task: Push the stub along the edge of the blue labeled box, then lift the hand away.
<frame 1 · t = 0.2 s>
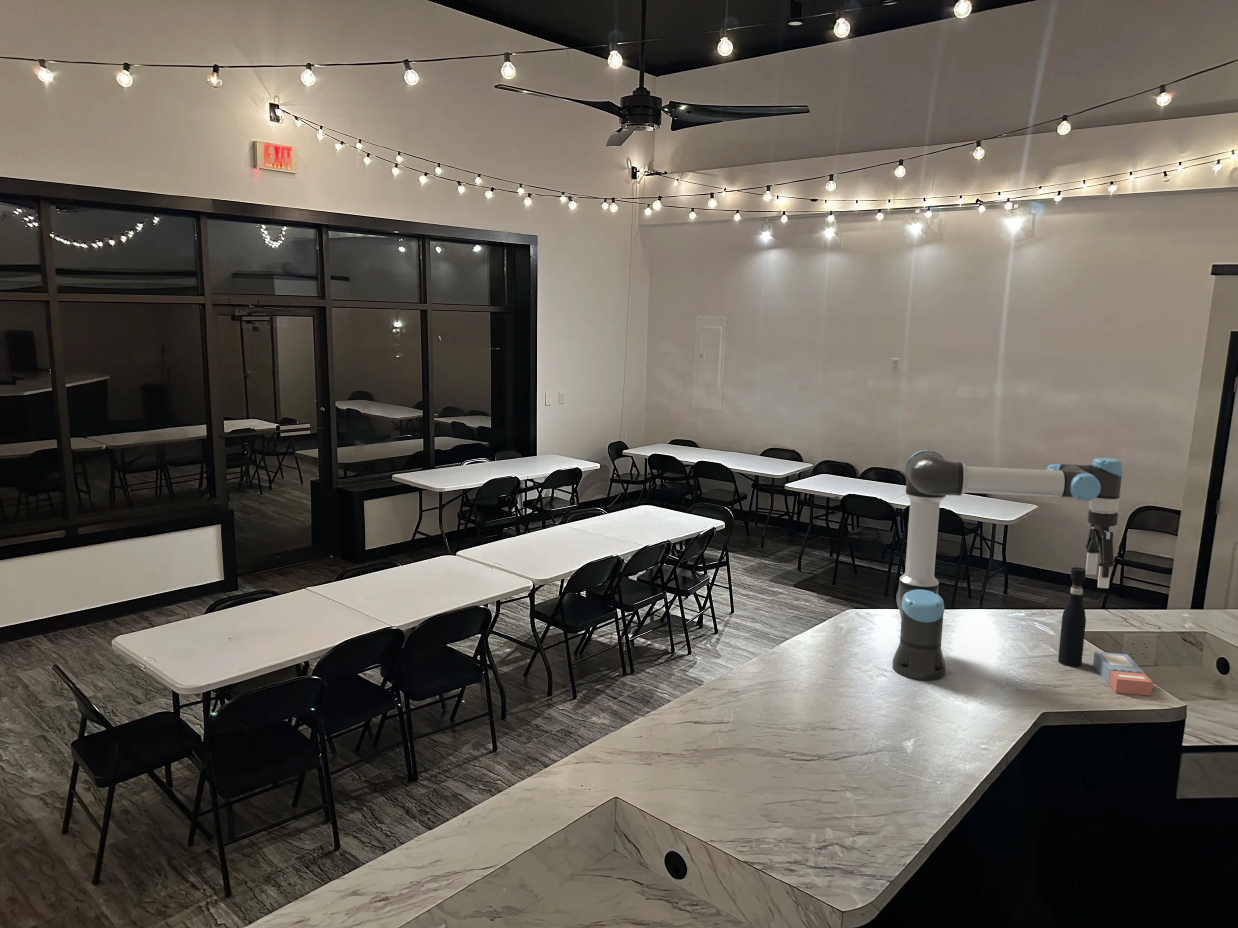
hand: (1096, 580, 245), 28 cm above the counter, fingers open, 13 cm apart
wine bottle: (1069, 663, 254), on the counter
blue labeled box: (1117, 675, 245), on the counter
stub: (1130, 682, 235), point 2 cm above the counter, slide at 0.0 cm
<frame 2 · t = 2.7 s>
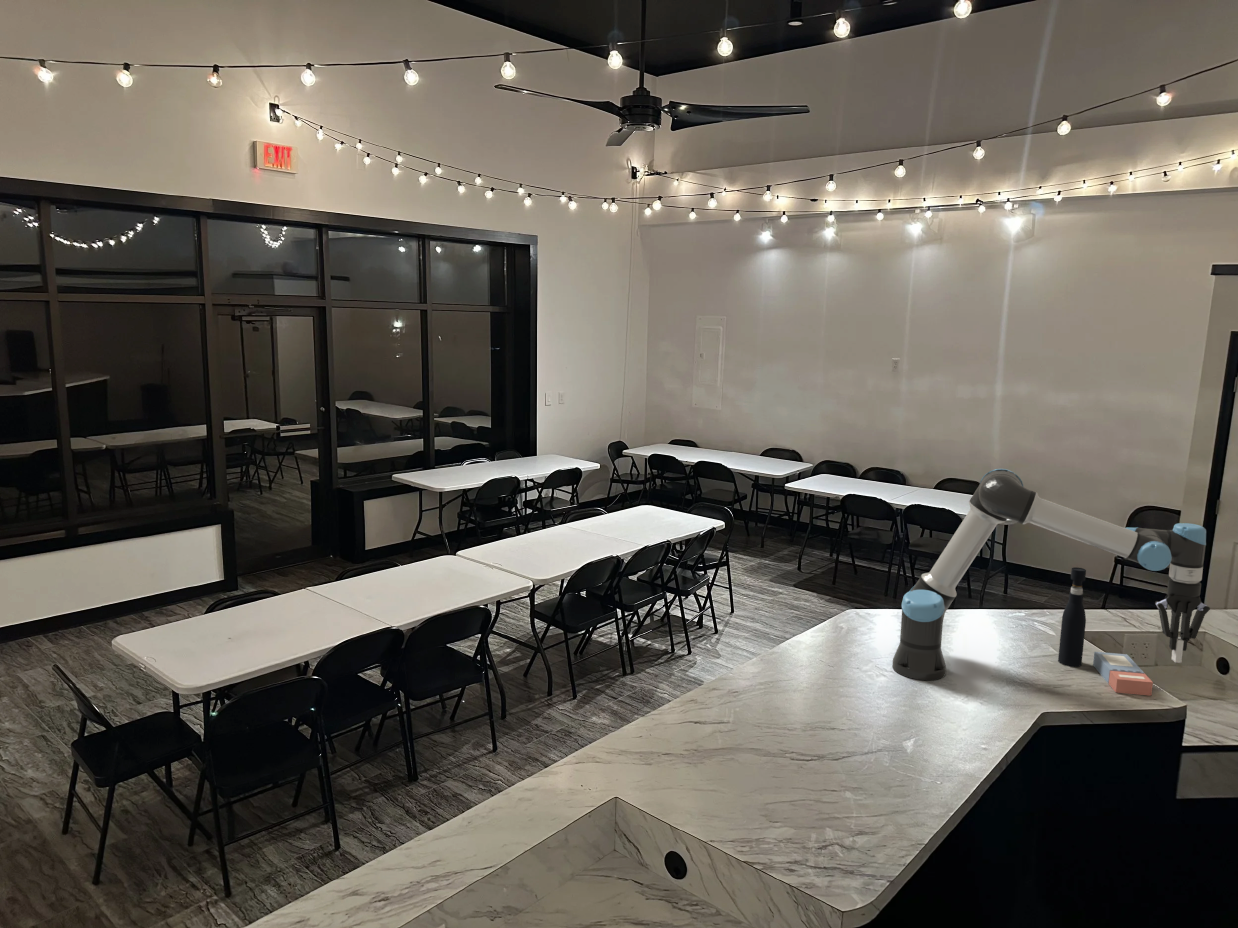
hand: (1176, 660, 231), 10 cm above the counter, fingers closed
nothing on the counter moved.
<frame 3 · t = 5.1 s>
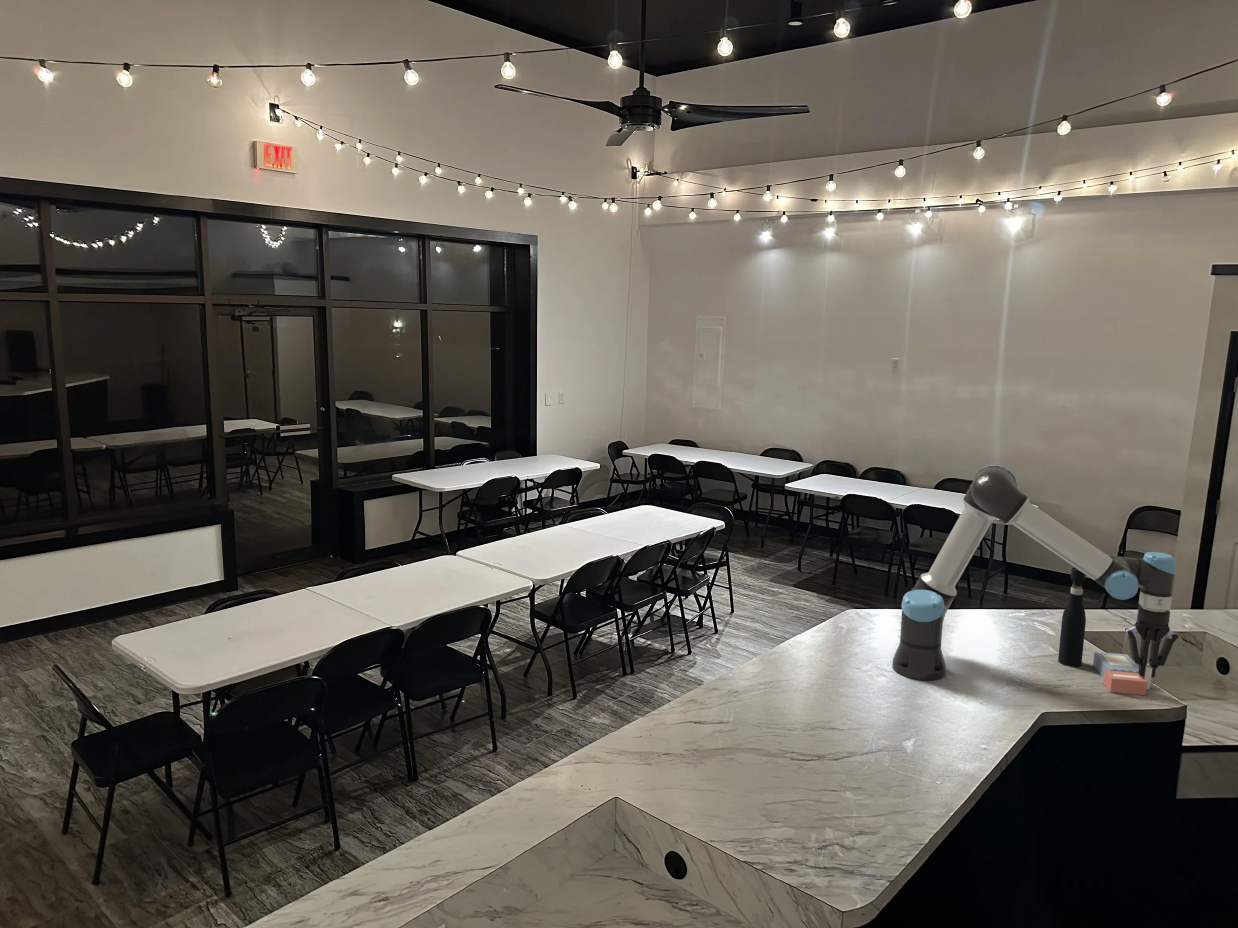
hand: (1145, 687, 234), 1 cm above the counter, fingers closed
stub: (1125, 682, 235), point 2 cm above the counter, slide at 1.4 cm, touching gripper
everything else where it was.
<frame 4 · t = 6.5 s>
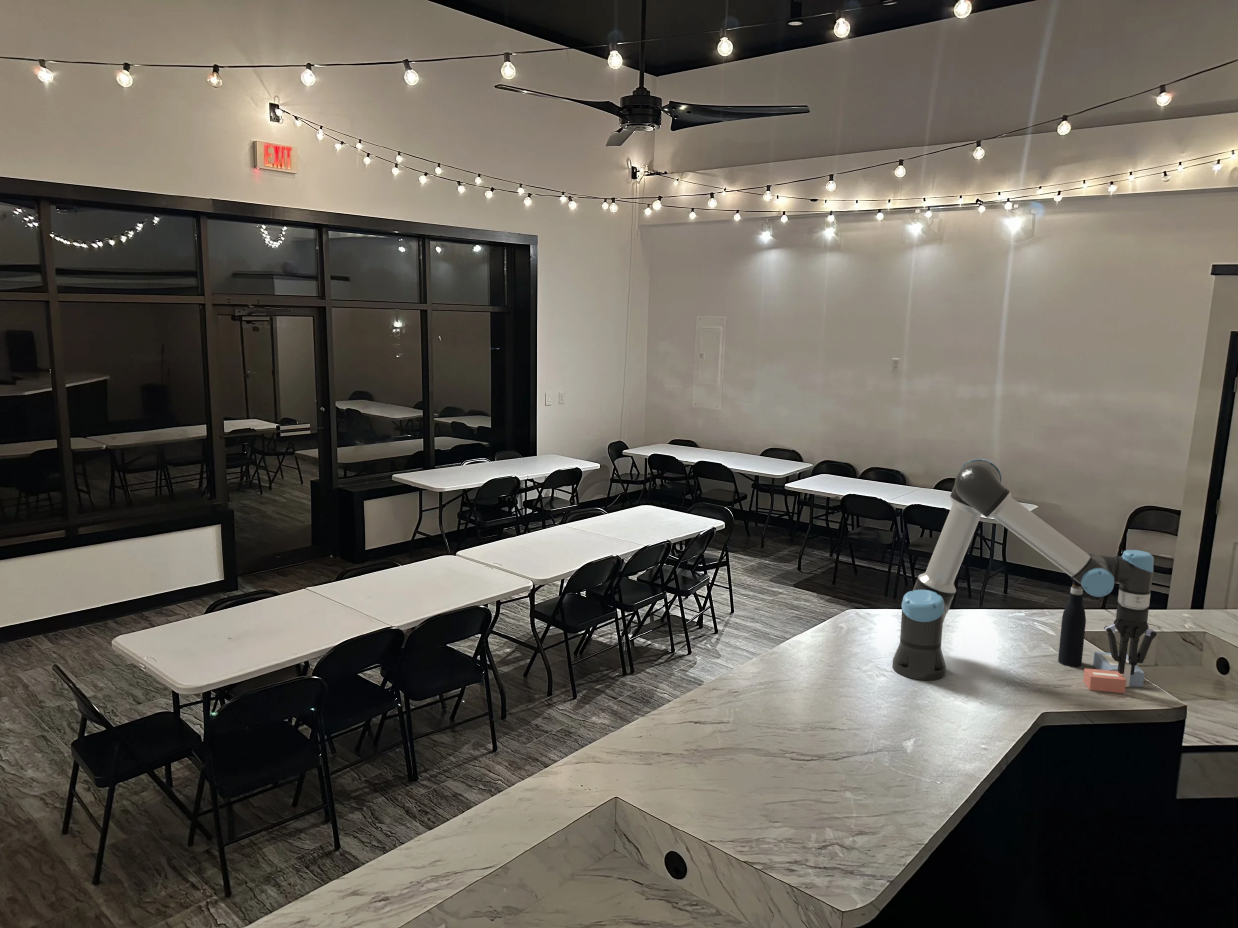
hand: (1124, 684, 235), 2 cm above the counter, fingers closed
stub: (1104, 680, 236), point 2 cm above the counter, slide at 6.7 cm, touching gripper
everything else where it was.
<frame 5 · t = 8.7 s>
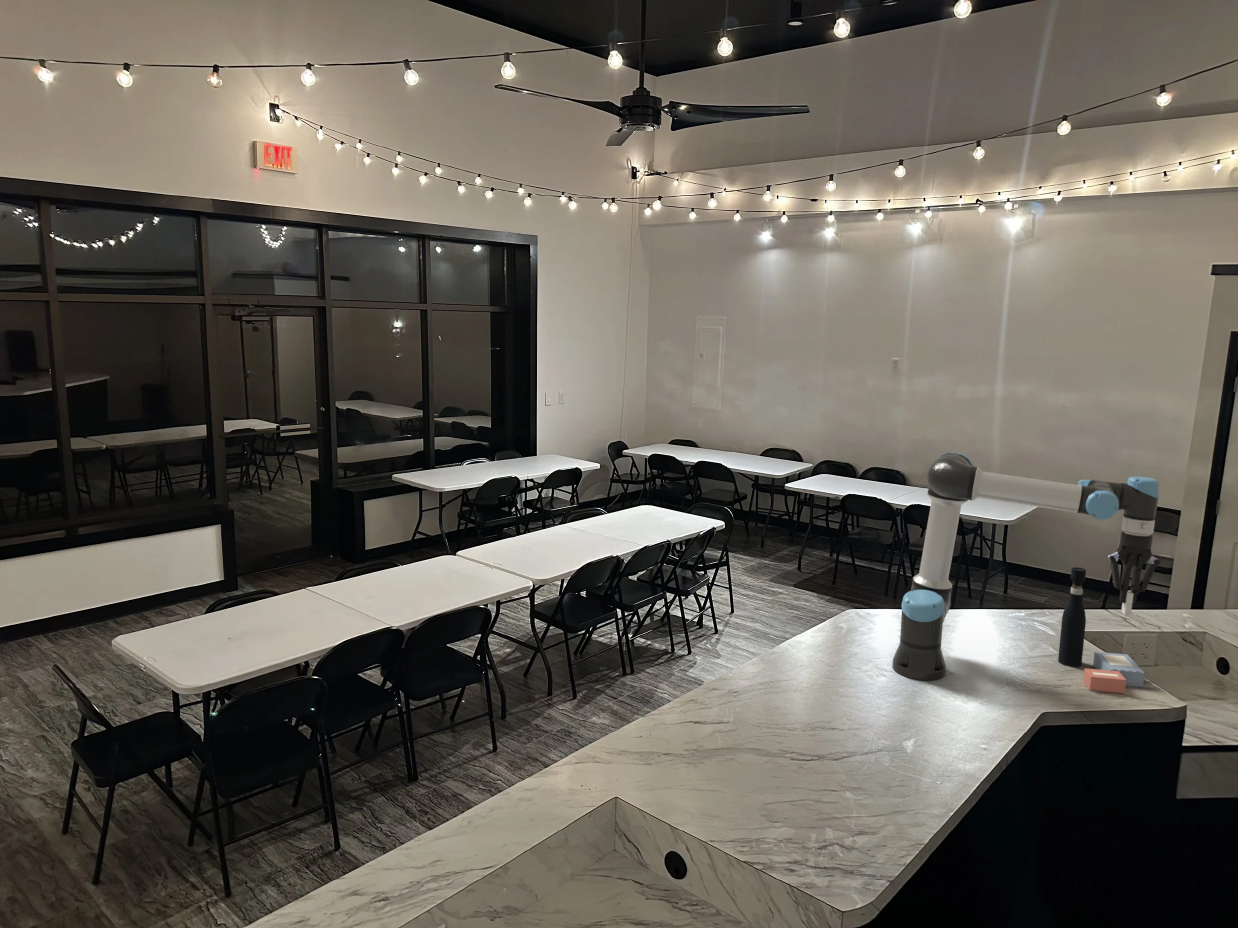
hand: (1125, 613, 232), 22 cm above the counter, fingers closed
stub: (1104, 680, 236), point 2 cm above the counter, slide at 6.7 cm
everything else where it was.
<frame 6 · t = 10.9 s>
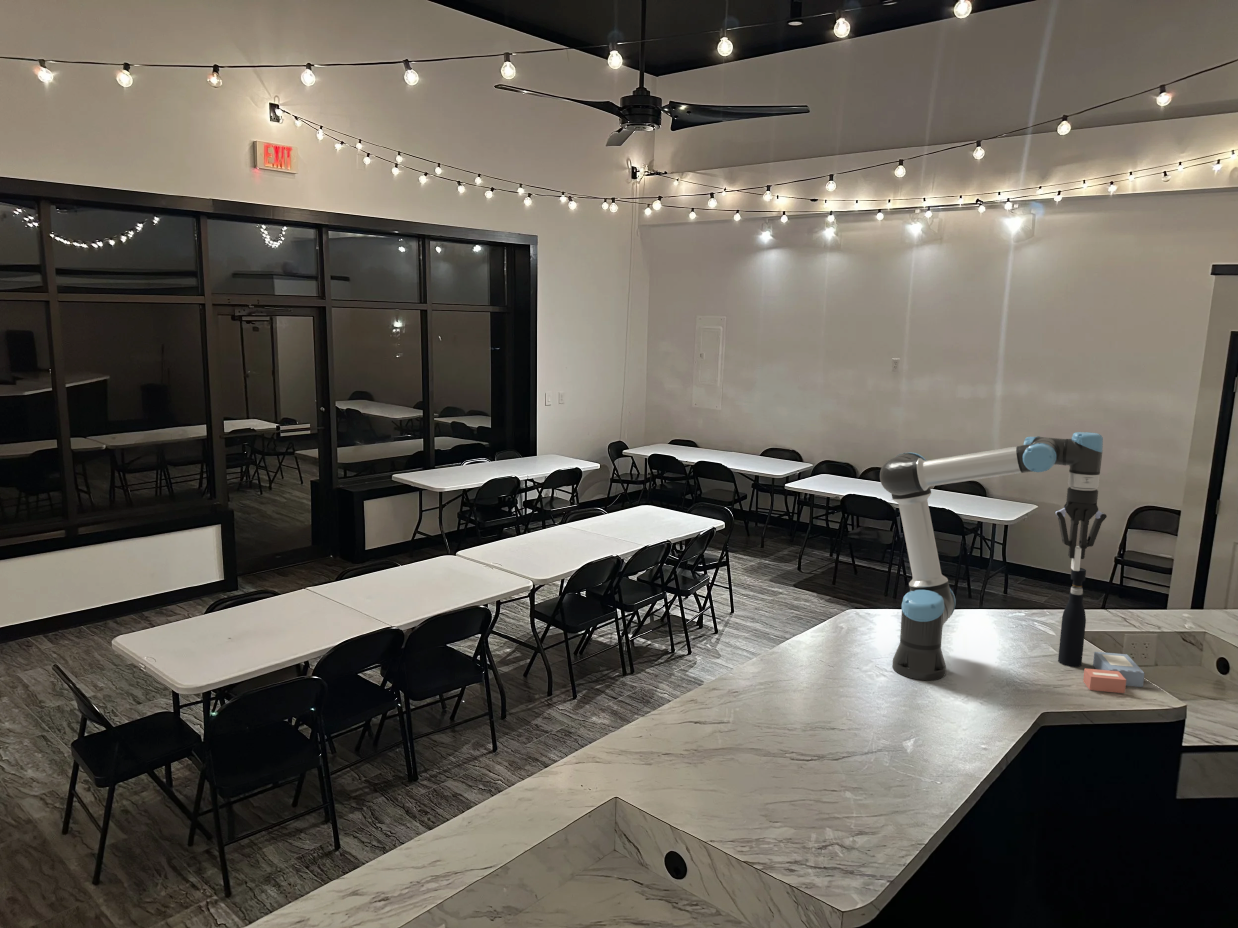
hand: (1075, 569, 234), 34 cm above the counter, fingers closed
nothing on the counter moved.
at the end: stub slide at 6.7 cm; the gripper is holding nothing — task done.
